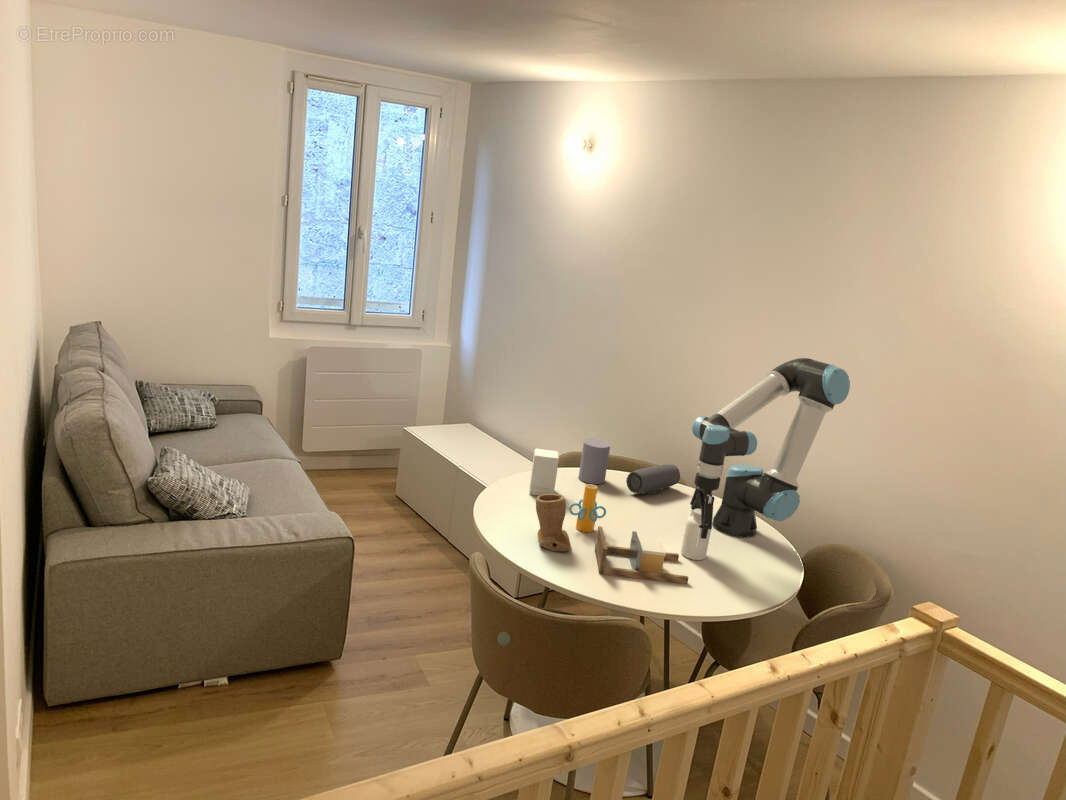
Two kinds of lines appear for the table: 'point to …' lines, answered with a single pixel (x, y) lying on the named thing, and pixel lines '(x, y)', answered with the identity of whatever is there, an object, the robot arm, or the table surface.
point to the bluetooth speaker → (653, 479)
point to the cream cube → (652, 556)
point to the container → (594, 461)
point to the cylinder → (587, 510)
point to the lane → (601, 553)
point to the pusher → (635, 551)
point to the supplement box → (544, 472)
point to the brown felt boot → (552, 522)
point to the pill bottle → (694, 538)
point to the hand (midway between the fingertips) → (696, 538)
